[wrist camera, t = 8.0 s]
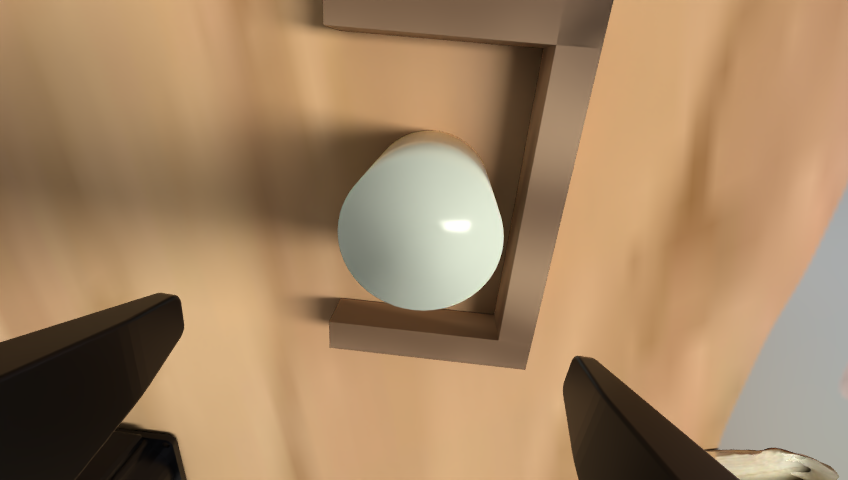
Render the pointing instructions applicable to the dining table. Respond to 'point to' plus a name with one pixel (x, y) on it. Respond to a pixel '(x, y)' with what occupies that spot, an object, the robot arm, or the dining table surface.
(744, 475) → the pie
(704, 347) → the dining table surface
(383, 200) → the white rounded canister
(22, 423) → the robot arm
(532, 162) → the dock
